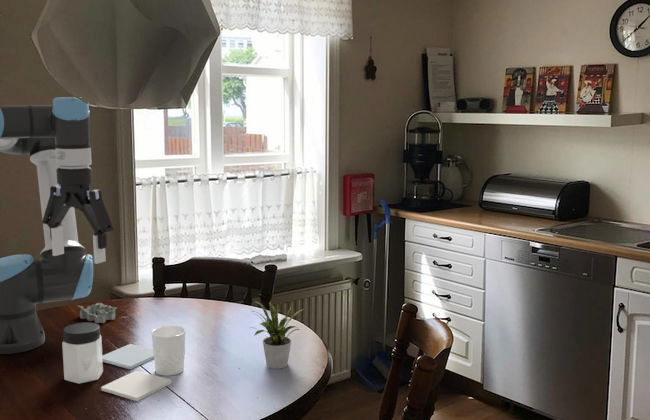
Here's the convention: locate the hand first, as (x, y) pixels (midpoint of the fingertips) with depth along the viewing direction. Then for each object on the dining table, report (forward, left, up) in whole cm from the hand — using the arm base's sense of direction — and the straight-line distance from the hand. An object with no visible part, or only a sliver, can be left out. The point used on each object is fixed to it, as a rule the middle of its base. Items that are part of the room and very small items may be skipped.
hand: (78, 258), depth 161 cm
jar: (0, 0, -29) cm, 29 cm away
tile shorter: (+15, +2, -29) cm, 32 cm away
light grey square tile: (+1, +14, -29) cm, 32 cm away
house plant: (+34, +29, -29) cm, 53 cm away
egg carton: (-30, +32, -29) cm, 52 cm away
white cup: (+15, +13, -29) cm, 35 cm away
